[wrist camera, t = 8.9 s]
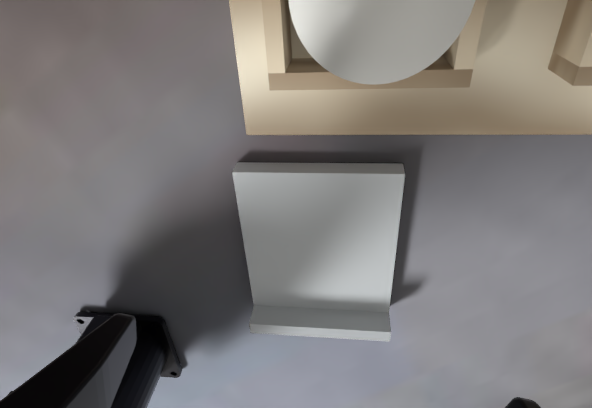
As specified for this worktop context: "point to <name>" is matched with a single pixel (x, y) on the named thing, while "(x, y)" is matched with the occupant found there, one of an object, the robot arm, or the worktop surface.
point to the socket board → (426, 77)
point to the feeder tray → (320, 246)
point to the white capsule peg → (378, 35)
